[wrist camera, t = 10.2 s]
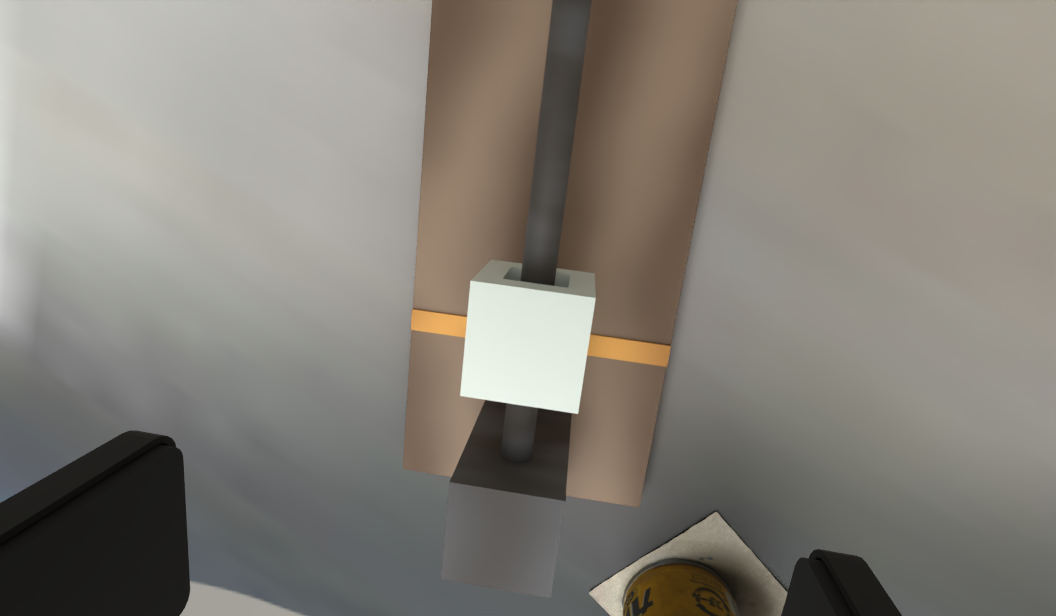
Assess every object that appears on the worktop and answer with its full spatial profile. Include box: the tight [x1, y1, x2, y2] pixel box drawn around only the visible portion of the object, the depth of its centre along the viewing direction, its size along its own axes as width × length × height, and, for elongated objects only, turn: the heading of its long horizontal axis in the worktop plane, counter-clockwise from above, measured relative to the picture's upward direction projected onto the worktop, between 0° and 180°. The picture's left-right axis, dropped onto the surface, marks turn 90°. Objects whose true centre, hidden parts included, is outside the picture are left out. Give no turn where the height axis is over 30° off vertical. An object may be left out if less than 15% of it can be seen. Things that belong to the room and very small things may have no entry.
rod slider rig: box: [403, 0, 738, 598], centre depth 21 cm, size 12×28×10 cm, turn 173°
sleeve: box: [460, 260, 596, 414], centre depth 20 cm, size 4×4×4 cm
